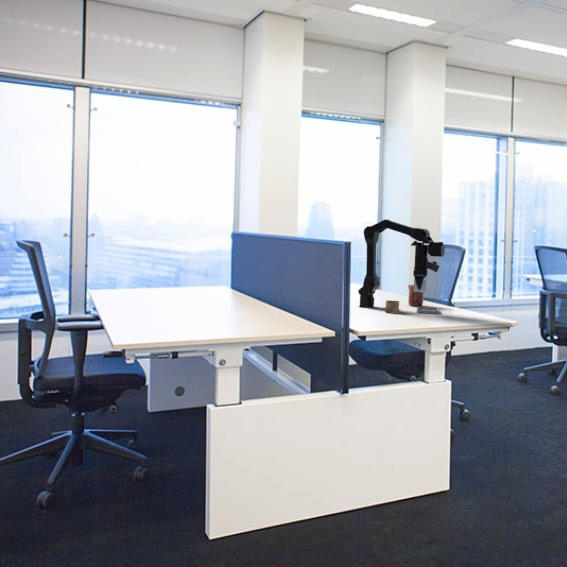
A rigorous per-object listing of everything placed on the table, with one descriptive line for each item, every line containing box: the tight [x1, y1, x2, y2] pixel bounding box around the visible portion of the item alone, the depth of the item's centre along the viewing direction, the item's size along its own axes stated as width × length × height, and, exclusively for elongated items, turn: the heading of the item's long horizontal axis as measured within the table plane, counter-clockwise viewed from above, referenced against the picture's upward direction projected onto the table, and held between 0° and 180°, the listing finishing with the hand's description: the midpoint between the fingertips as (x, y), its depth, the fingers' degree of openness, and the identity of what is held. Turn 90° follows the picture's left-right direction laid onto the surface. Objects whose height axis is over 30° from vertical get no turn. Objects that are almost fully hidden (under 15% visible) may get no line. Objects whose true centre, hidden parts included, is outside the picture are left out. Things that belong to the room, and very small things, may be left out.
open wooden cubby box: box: [385, 299, 400, 314], centre depth 279 cm, size 6×6×5 cm
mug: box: [407, 284, 425, 308], centre depth 300 cm, size 12×9×10 cm
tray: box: [416, 306, 440, 315], centre depth 283 cm, size 10×10×2 cm
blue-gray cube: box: [413, 278, 427, 293], centre depth 278 cm, size 6×6×6 cm
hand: (419, 288), depth 279 cm, fingers closed on blue-gray cube, 6 cm apart
